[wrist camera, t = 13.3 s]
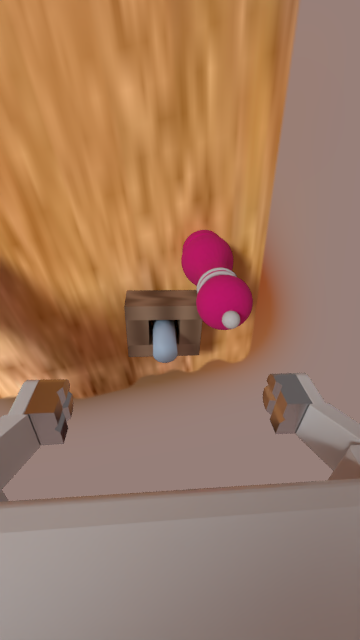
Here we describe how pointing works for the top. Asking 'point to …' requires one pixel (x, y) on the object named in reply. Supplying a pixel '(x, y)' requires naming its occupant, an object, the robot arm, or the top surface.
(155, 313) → the socket block
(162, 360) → the peg
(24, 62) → the top surface
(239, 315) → the pepper mill
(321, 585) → the robot arm
